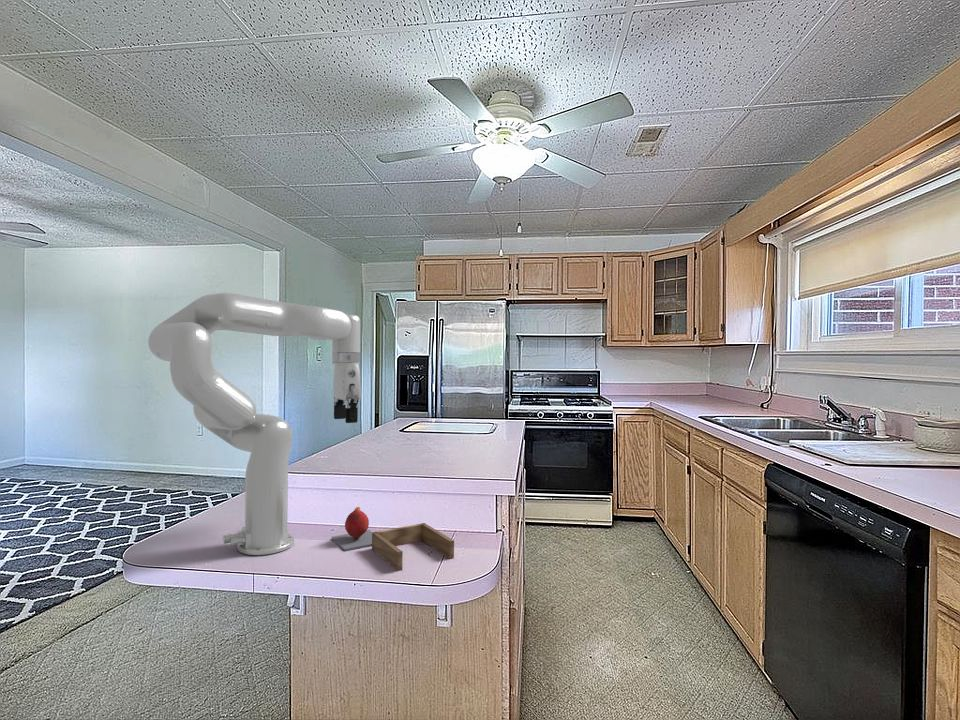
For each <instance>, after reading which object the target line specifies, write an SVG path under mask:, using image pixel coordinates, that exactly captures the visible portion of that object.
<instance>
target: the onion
mask: <svg viewBox="0 0 960 720" xmlns="http://www.w3.org/2000/svg"><path fill="white" fill-rule="evenodd" d="M369 521H370V520H369V517H368V516H367V514H366V513H365V512H364V511H362V510H361V507H360V506H356V507H355V508H354V509H353V511H352V512H350V513H349V514H348V515H347V517H346V519H345V522H344V529H345V531H346V534H349V535H350V536H352V537H353V538H355V539H359V538H360V537H361V536H362V535H363V534H364V533H365V532H366V531H367V530H369V525H370V522H369Z"/></svg>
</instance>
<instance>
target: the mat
mask: <svg viewBox="0 0 960 720" xmlns="http://www.w3.org/2000/svg"><path fill="white" fill-rule="evenodd" d="M372 532H373V531H371V530H370V529H367V531H366V532H365V533H364V534H363V535H362V536H361V537H360V538H359V539H355V538H353V537H352V536H350V535H349V534H348V533H345V534H339V535H338V534H337V535H334V536H331V540H332V541H334V543H335V544H336V545H337V546H338V547H339V548H341V549H342V550H343V551H344V552H348V551H349V552H350V551H352V550H353V551H354V550H358V549H362V548H368V547H372Z"/></svg>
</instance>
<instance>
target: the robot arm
mask: <svg viewBox="0 0 960 720" xmlns="http://www.w3.org/2000/svg"><path fill="white" fill-rule="evenodd" d="M360 318H361V317H360V316H358V315H356V314H349V313H348V314H347V313H345V312H344V311H342V310H339V309H333V308H328V307H322V306H315V305H307V304H306V305H305V304H298V303H292V302H286V301H278V300H272V299H267V298H260V297H255V296H250V295H249V296H248V295H244V294H239V293H237V294H236V293H232V292H220V293H211V294H206V295H203V296H200V297H198V298H196V300H193V301H192V302H190V303H189V304H187V305H186V306H184V307H183V308H182V309H180V310H179V311H177V312H175V313H174V314H173V315H171V316H169V317H168V318H167V319H165V320H163V321H162V322H161V323H159V324H157V325H156V326H155V327H154V328H153V329H152V330H151V332H150V334H149V336H148V340H147V343H148V348H149V350H150V352H151V354H152V355H154V356H155V357H156V358H158V359H159V360H162V361H164V362H169V371H170V377H171V378H170V379H171V381H172V384H173V387H174V389H175V390H176V392H178V393H179V394H180V396H181V397H183V398H184V399H185V400H186V401H187V402H189V403H190V404H191V405H192V406H193V407H192V409H193V415H194V417H195V418H196V420H197V421H198V423H199V424H200V425H201V426H203V427H204V428H206V430H208V431H210V432H211V433H212V434H214V435H216V436H217V438H220V439H221V440H222V441H224V442H225V443H227V444H229V445H230V446H232V447H234V448H235V449H237V450H240V451H243V452H249V453H250V456H249V459H248V462H247V464H246V465H247V466H246V469H245V479H244V480H245V481H244V482H245V484H244V485H245V493H244V496H245V498H244V500H245V504H244V506H245V507H244V509H245V510H244V513H245V514H244V516H245V517H244V518H245V519H244V527H241V531H237V533H234V534H233V533H230V534H224V535H222V542H223V543H222V544H230V546H234V545H237V551H238V550H239V551H240V553H241V554H244V555H250V556H264V555H271V554H276V553H280V552H282V551H286V550H288V549H289V548H291V547H292V546H294V544H295V538H294V536H293V535H292V534H289V533H288V521H289V520H288V519H289V518H288V517H289V516H288V515H289V514H288V510H289V509H288V505H289V504H288V501H289V497H288V496H289V492H288V491H289V462H290V461H289V460H290V459H289V458H290V454H291V448H292V445H293V431H292V430H293V429H292V428H291V426H290V424H289V423H288V422H287V421H286V420H285V419H283V418H281V417H279V416H276V415H272V414H264V413H263V414H262V413H257V406H256V404H255V402H254V400H253V399H252V398H251V397H250V396H249V395H248V394H246V393H245V392H244V391H242V390H241V389H239V388H238V386H236V385H235V384H233V383H231V381H229V380H228V379H227V378H225V377H224V375H222V374H221V373H220V372H219V371H218V370H217V369H216V367H215V366H214V364H213V360H212V359H213V357H212V350H213V340H212V336H211V335H212V334H213V333H214V332H216V331H231V332H237V333H238V332H239V333H245V334H246V333H247V334H257V335H261V336H262V335H263V336H264V335H265V336H271V337H273V336H274V337H299V336H301V337H303V336H304V337H307V338H309V339H311V340H315V341H330V340H331V342H332V344H331V351H332V354H331V364H332V365H334V366H333V367H334V368H333V369H334V370H333V384H332V387H333V388H332V389H333V390H332V391H333V419H334V420H344V421H345V423H346V424H354V423H356V424H357V423H358V421H359V420H358V419H359V417H358V416H359V415H358V411H359V410H358V408H359V404H358V403H359V402H360V401H359V400H361V399H362V393H361V392H362V391H361V389H362V388H361V370H360V366H359V365H360V364H361V319H360ZM239 551H238V552H239Z"/></svg>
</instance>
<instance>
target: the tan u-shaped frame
mask: <svg viewBox="0 0 960 720" xmlns="http://www.w3.org/2000/svg"><path fill="white" fill-rule="evenodd" d="M371 532H372V546H371V550H372V551H374V553H376V554H377V553H378V554H379V555H378V554H377V555H378V556H379V557H381V558H382V557H383V558H384V559H385V560H384V559H383V558H382V559H383V560H384V561H385V562H387V563H388V562H389V563H390V564H391V567H393V568H394V569H395V570H396V571H397V572H400V571H403V559H404V558H403V554H404V553H403V550H401V549H400V548H399V547H398V546H401V545H402V544H403V545H406V544H411V543H417V542H420V541H421V542H423V543H424V542H426V543H425V544H427V545H428V544H429V546H430V547H432V548H433V547H434V548H433V549H435V550H436V551H437V552H439V551H440V552H439V553H441V554H442V555H443V556H446V558H448V557H449V558H448V559H454V558H455V540H454V539H452V538H451V537H448V535H446V534H444V533H442V532H440V531H438V530H437V529H436V528H434V527H432V526H431V525H428V524H427V523H425V522H422V523H416V524H411V525H406V526H400V527H395V528H389V529H384V530H383V529H382V530H378V531H371ZM422 540H423V541H422ZM397 545H398V546H397ZM389 563H388V564H389ZM390 564H389V565H390Z"/></svg>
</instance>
